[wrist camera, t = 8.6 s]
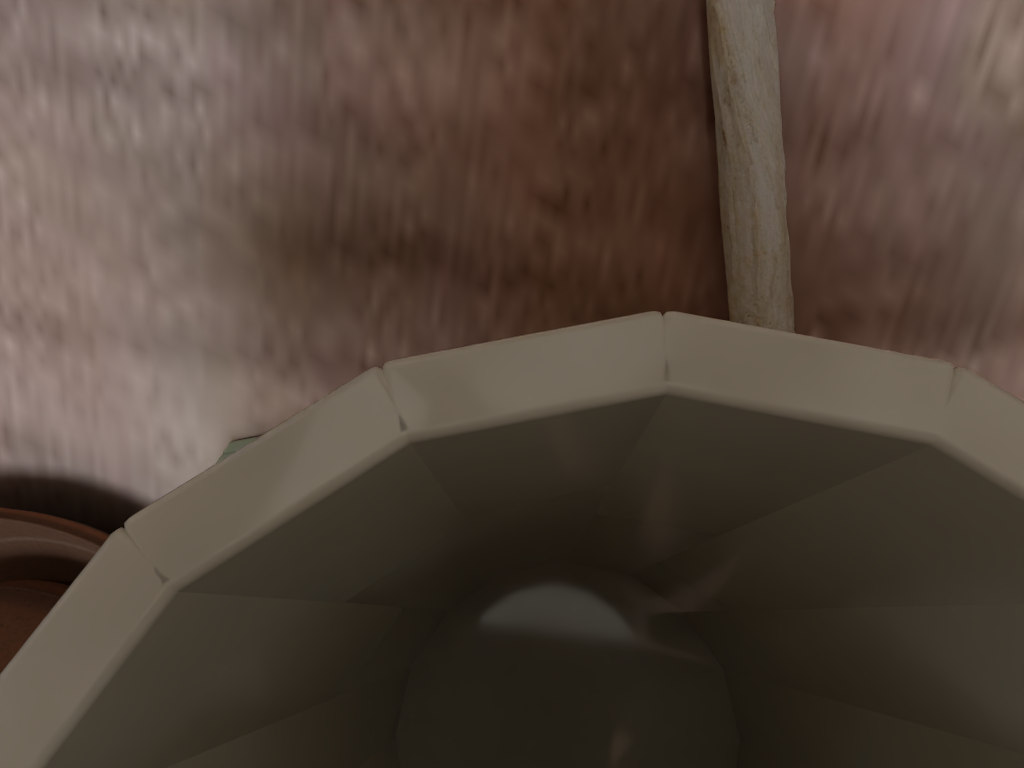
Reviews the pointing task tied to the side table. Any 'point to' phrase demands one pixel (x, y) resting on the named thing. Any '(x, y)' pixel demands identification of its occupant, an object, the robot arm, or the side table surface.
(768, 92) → the tool
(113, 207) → the side table surface
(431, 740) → the tumbler
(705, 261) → the side table surface
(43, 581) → the cup and saucer
